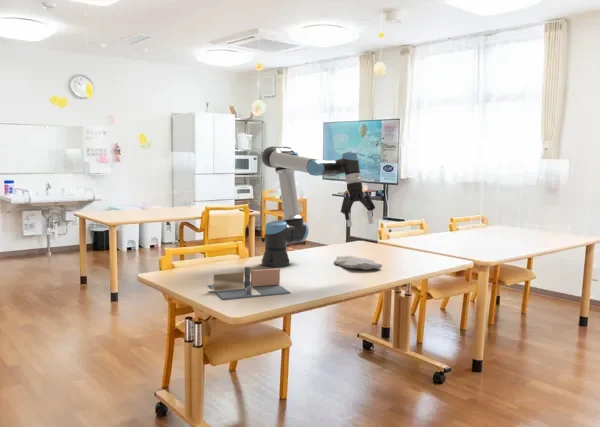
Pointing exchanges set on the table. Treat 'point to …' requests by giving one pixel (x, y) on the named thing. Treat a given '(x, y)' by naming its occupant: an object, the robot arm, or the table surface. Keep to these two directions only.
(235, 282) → the base
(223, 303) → the table surface
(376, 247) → the table surface
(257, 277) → the hinged panel
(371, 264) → the stone
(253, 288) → the card
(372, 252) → the table surface
